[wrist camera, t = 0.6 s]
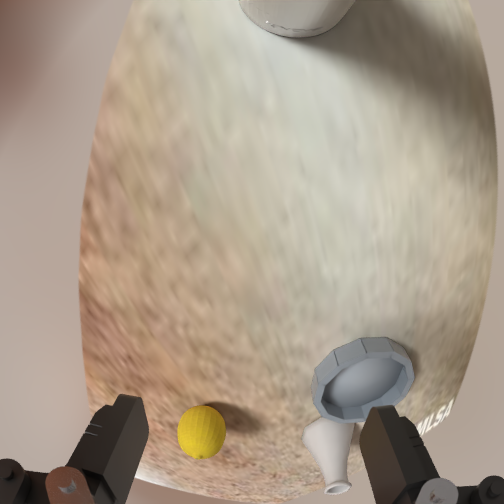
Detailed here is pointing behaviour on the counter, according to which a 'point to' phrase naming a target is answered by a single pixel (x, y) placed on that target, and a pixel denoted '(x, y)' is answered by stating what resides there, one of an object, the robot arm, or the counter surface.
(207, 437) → the lemon
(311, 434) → the flask
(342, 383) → the dish
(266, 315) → the counter surface
